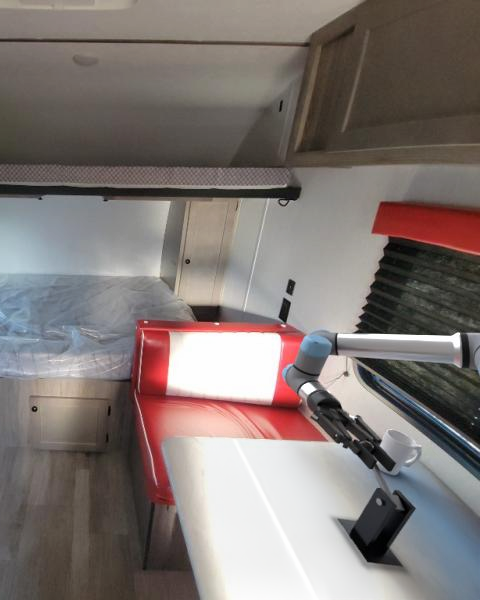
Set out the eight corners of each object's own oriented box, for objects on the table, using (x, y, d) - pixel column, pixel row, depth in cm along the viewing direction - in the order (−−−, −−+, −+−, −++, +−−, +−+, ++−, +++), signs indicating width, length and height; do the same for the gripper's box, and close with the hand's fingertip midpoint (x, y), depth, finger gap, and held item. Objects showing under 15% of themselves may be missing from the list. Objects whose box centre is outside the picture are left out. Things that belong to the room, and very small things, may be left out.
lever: (349, 442, 85) (359, 437, 82) (363, 444, 84) (373, 438, 82) (381, 511, 74) (393, 507, 71) (397, 513, 74) (410, 509, 71)
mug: (376, 472, 100) (394, 442, 96) (365, 456, 106) (381, 426, 102) (415, 483, 98) (436, 452, 93) (402, 466, 104) (420, 436, 99)
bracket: (335, 521, 84) (361, 476, 78) (367, 525, 83) (395, 480, 78) (364, 565, 74) (396, 517, 68) (400, 570, 74) (435, 522, 68)
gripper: (342, 414, 100) (411, 482, 78) (287, 407, 100) (340, 473, 78) (353, 393, 97) (426, 458, 75) (296, 387, 97) (353, 449, 76)
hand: (382, 465), depth 77 cm, fingers closed on lever, 4 cm apart
